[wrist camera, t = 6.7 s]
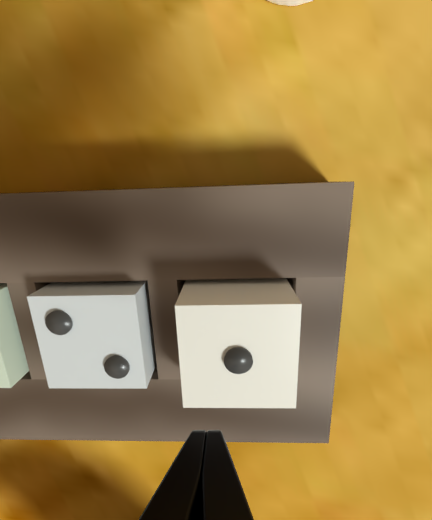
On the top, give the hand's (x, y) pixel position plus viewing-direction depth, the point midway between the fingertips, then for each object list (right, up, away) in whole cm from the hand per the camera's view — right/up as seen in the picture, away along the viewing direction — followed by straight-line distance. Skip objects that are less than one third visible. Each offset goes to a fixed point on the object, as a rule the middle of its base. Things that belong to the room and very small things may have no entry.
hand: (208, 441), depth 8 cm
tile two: (-6, +2, +8) cm, 10 cm away
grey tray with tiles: (-6, +2, +9) cm, 11 cm away
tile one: (+1, +2, +7) cm, 7 cm away
